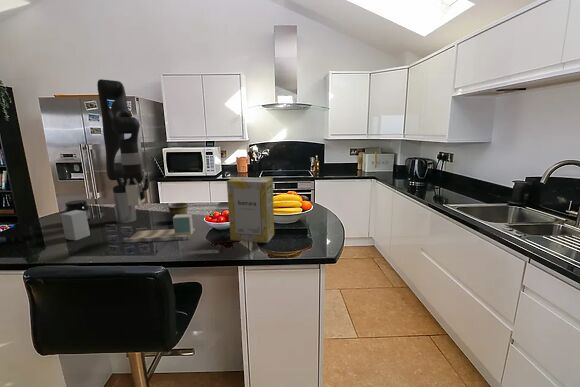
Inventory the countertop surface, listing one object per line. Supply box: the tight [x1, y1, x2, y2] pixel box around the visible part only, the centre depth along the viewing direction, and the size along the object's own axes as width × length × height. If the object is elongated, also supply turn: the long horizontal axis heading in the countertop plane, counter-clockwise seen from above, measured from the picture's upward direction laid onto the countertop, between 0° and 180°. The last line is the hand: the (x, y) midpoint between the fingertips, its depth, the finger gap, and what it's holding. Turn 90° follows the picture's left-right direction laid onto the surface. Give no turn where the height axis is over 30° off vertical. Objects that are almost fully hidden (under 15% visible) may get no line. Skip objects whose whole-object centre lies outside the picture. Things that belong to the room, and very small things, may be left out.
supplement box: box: [59, 210, 91, 241], centre depth 135 cm, size 7×7×13 cm
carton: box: [125, 181, 146, 206], centre depth 129 cm, size 8×5×9 cm, turn 7°
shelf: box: [123, 227, 197, 244], centre depth 133 cm, size 28×15×3 cm, turn 96°
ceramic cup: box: [168, 202, 189, 221], centre depth 156 cm, size 13×10×10 cm
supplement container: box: [65, 199, 92, 223], centre depth 157 cm, size 10×10×12 cm
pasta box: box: [226, 176, 275, 244], centre depth 130 cm, size 18×10×28 cm, turn 77°
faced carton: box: [172, 213, 194, 236], centre depth 134 cm, size 8×5×9 cm, turn 96°
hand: (136, 199), depth 129 cm, fingers closed on carton, 4 cm apart
